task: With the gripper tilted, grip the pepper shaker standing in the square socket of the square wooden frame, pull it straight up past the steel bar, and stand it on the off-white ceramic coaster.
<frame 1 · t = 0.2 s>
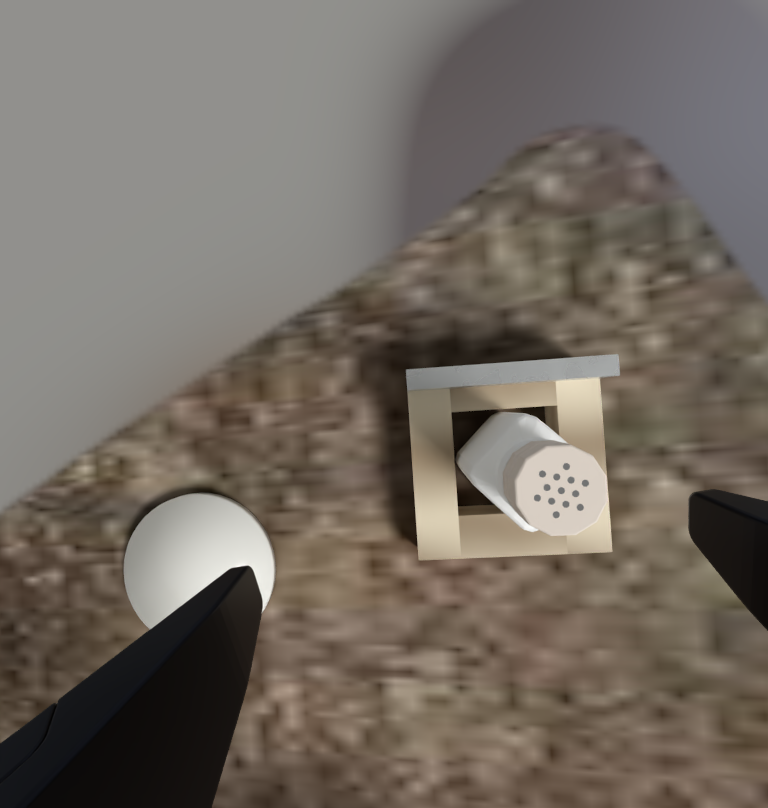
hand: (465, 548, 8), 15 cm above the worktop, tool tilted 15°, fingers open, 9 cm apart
square wooden frame: (498, 456, 23), on the worktop
coaster: (202, 567, 24), on the worktop
pepper shaker: (498, 455, 23), resting in square wooden frame
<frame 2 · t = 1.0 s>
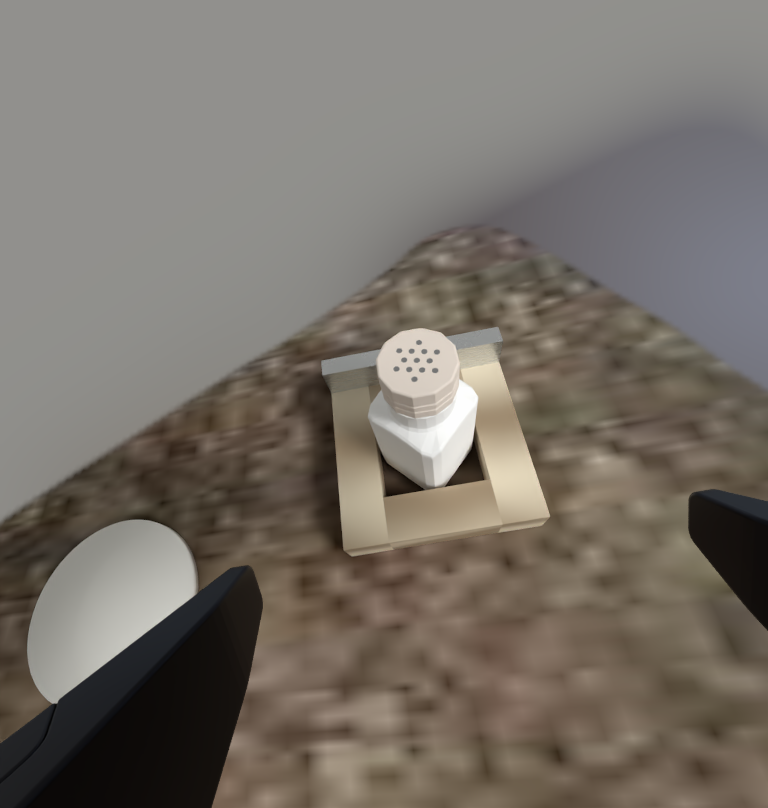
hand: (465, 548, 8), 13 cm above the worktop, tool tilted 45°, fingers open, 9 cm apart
square wooden frame: (428, 453, 24), on the worktop
coaster: (118, 606, 22), on the worktop
pepper shaker: (428, 454, 24), resting in square wooden frame
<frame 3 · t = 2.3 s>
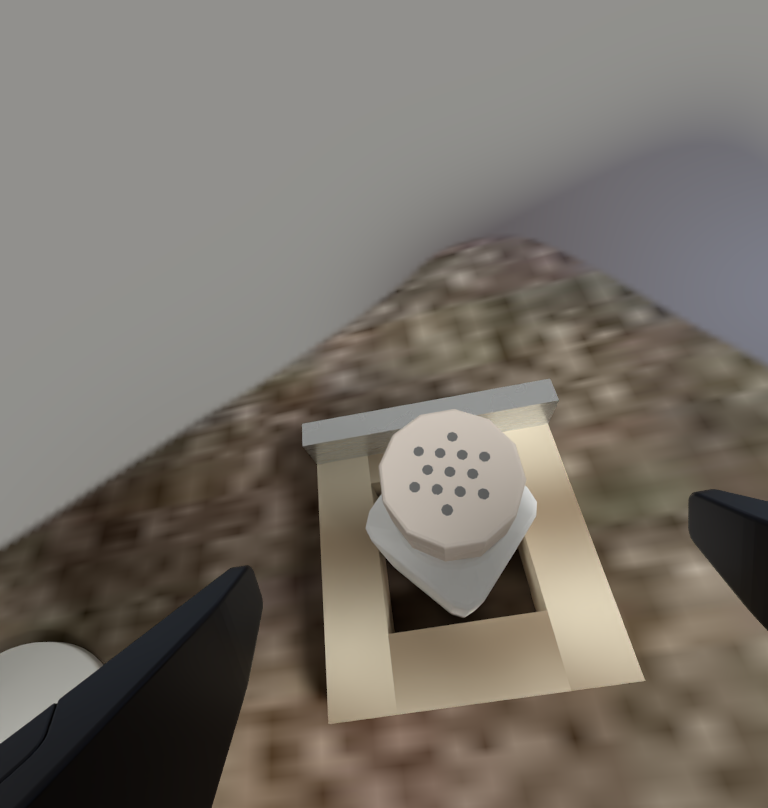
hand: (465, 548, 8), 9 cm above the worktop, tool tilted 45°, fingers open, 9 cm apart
square wooden frame: (450, 549, 17), on the worktop
coaster: (7, 780, 15), on the worktop
pepper shaker: (450, 550, 17), resting in square wooden frame
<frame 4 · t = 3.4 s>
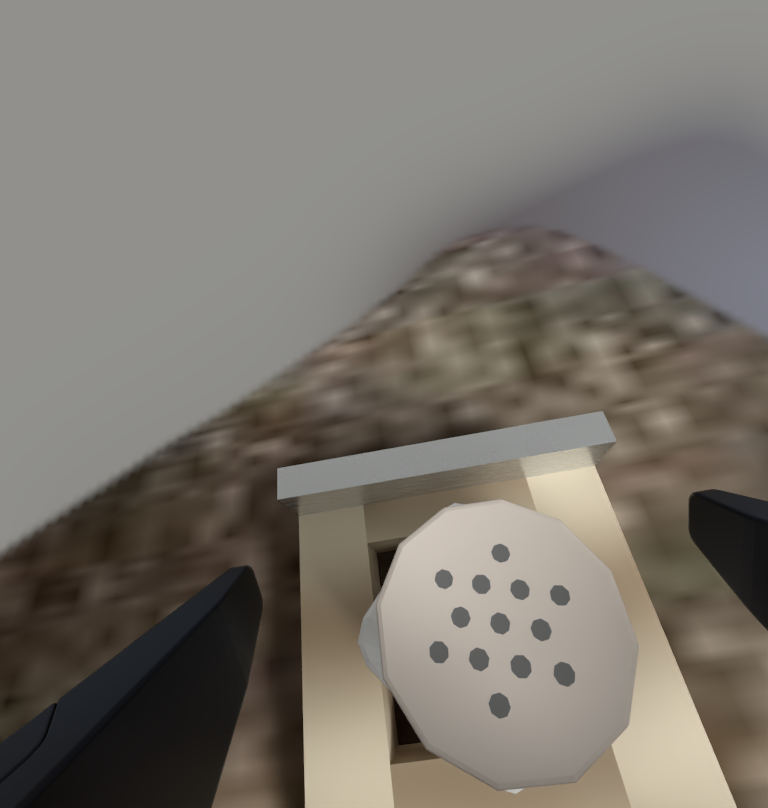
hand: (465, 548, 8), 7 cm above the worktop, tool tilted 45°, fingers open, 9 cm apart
square wooden frame: (468, 627, 13), on the worktop
pepper shaker: (468, 627, 13), resting in square wooden frame
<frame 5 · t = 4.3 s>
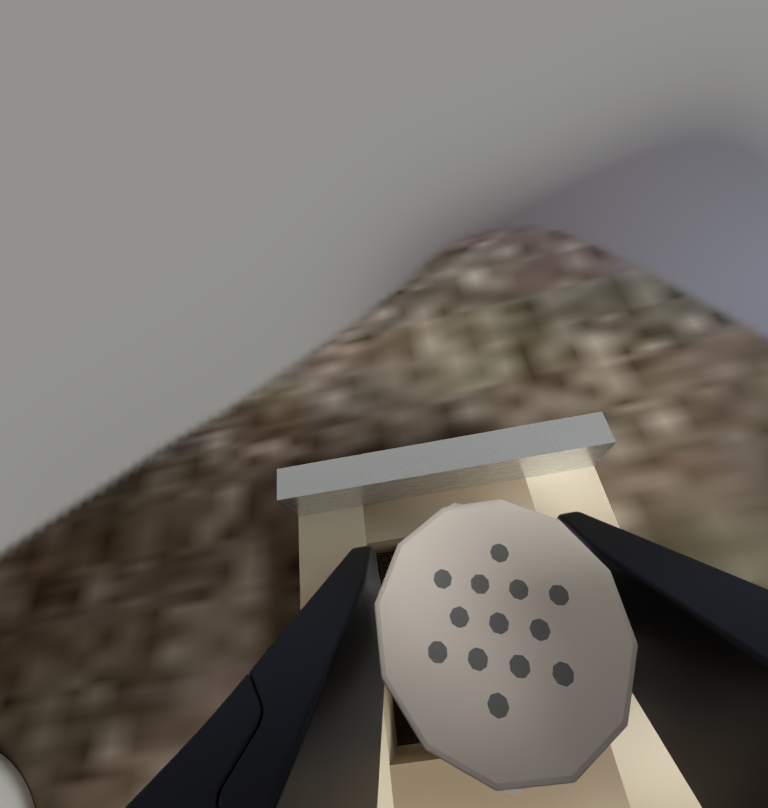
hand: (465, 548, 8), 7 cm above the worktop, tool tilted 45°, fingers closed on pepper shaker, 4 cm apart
square wooden frame: (468, 627, 13), on the worktop
pepper shaker: (468, 627, 13), resting in square wooden frame, touching gripper
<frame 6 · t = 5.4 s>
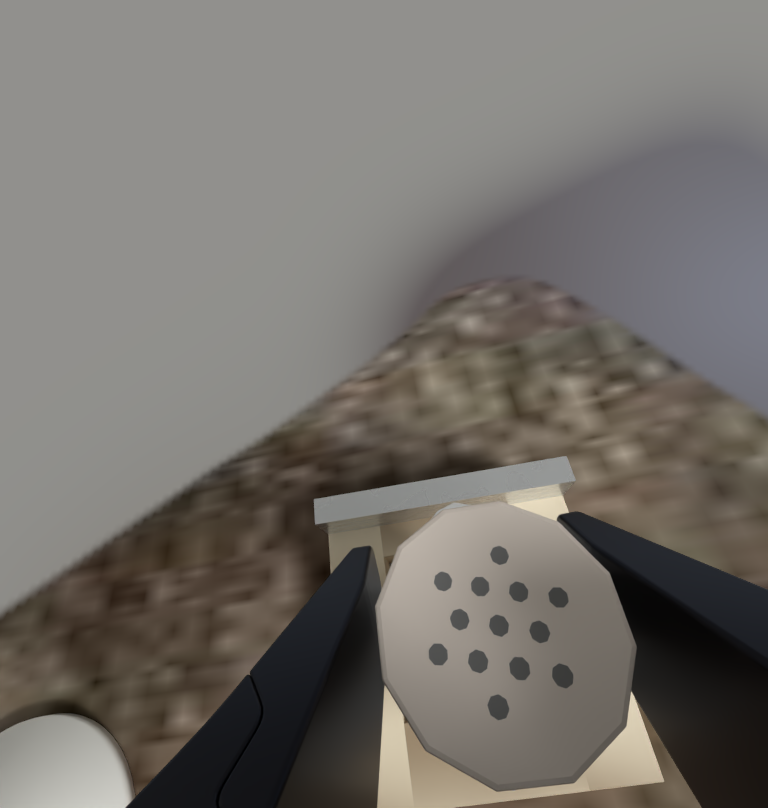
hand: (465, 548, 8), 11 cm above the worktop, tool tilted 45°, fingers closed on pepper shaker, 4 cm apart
square wooden frame: (463, 622, 17), on the worktop
pepper shaker: (467, 624, 14), point 4 cm above the worktop, touching gripper
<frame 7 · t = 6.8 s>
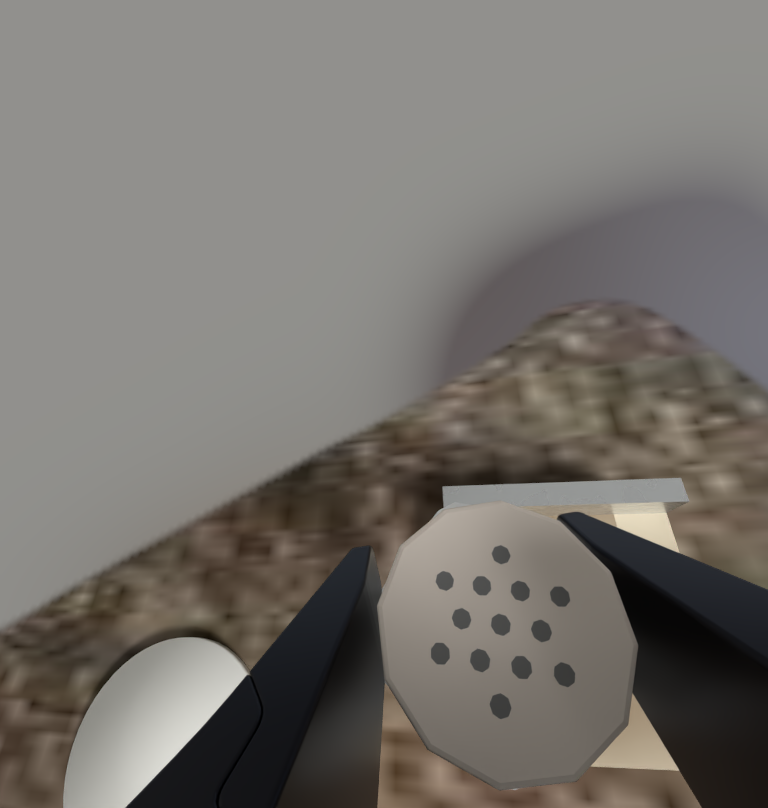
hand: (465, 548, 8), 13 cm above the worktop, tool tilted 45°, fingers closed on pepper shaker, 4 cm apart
square wooden frame: (558, 612, 19), on the worktop
coaster: (170, 751, 18), on the worktop
pepper shaker: (468, 624, 14), point 6 cm above the worktop, touching gripper
when the fingers open (8 cm above the worktop, at t = 9.9 s): pepper shaker stays where it is, resting on coaster.
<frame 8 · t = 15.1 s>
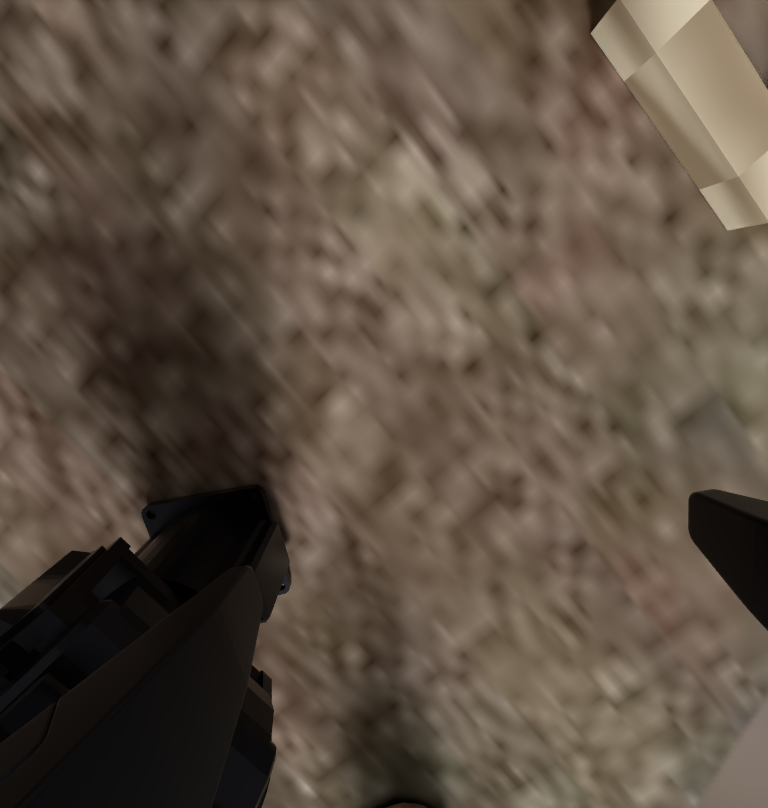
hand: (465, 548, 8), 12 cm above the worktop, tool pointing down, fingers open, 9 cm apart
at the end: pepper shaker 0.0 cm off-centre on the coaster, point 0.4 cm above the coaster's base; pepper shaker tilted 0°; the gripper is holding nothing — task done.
